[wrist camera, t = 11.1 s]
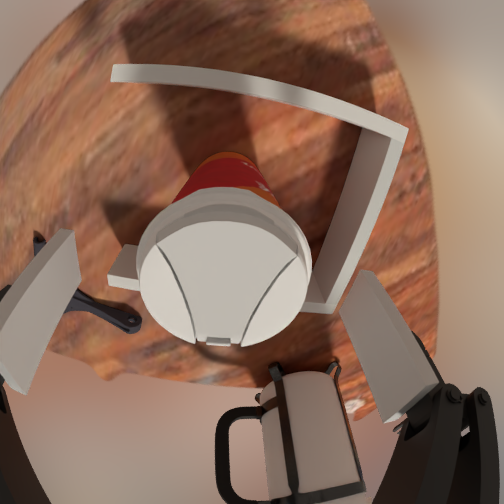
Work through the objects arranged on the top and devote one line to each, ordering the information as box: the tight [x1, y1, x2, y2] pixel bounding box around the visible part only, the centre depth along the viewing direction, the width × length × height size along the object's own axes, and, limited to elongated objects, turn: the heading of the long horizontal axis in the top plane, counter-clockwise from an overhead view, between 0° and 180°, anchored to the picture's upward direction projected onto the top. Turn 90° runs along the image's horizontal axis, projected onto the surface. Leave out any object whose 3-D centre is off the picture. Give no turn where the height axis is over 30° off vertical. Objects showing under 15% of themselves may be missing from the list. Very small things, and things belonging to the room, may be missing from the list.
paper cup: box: [136, 152, 312, 347], centre depth 17 cm, size 8×8×14 cm
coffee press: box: [215, 362, 372, 504], centre depth 27 cm, size 17×16×30 cm
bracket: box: [33, 237, 142, 334], centre depth 28 cm, size 14×15×3 cm
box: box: [107, 64, 409, 314], centre depth 20 cm, size 20×17×5 cm
